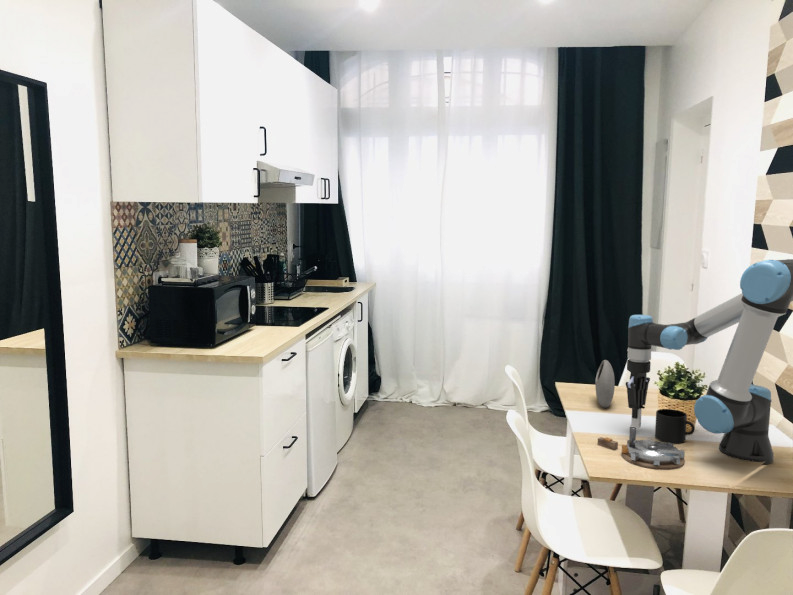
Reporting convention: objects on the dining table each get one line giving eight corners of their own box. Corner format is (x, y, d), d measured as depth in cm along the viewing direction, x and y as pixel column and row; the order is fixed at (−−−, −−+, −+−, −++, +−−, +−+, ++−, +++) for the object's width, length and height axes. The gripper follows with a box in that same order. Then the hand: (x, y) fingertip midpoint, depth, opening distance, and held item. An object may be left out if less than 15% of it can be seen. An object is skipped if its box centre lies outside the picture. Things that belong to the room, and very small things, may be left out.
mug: (691, 447, 203) (693, 420, 202) (652, 440, 209) (653, 414, 208) (695, 439, 211) (697, 412, 210) (657, 432, 217) (658, 407, 216)
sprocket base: (694, 459, 192) (694, 456, 192) (667, 474, 181) (667, 472, 181) (639, 444, 206) (639, 441, 206) (610, 457, 194) (610, 454, 194)
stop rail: (617, 449, 201) (618, 440, 200) (614, 450, 200) (614, 442, 199) (600, 444, 205) (601, 435, 205) (597, 445, 204) (597, 437, 204)
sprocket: (678, 447, 199) (679, 422, 198) (689, 468, 182) (690, 441, 181) (619, 442, 204) (620, 418, 203) (624, 462, 187) (625, 436, 186)
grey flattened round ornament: (593, 400, 257) (595, 355, 255) (611, 401, 255) (613, 356, 253) (595, 413, 239) (597, 365, 237) (615, 414, 237) (617, 366, 235)
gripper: (637, 355, 222) (635, 420, 225) (619, 360, 214) (616, 428, 216) (658, 359, 217) (655, 425, 219) (640, 364, 208) (637, 433, 211)
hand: (635, 426), depth 218 cm, fingers closed
